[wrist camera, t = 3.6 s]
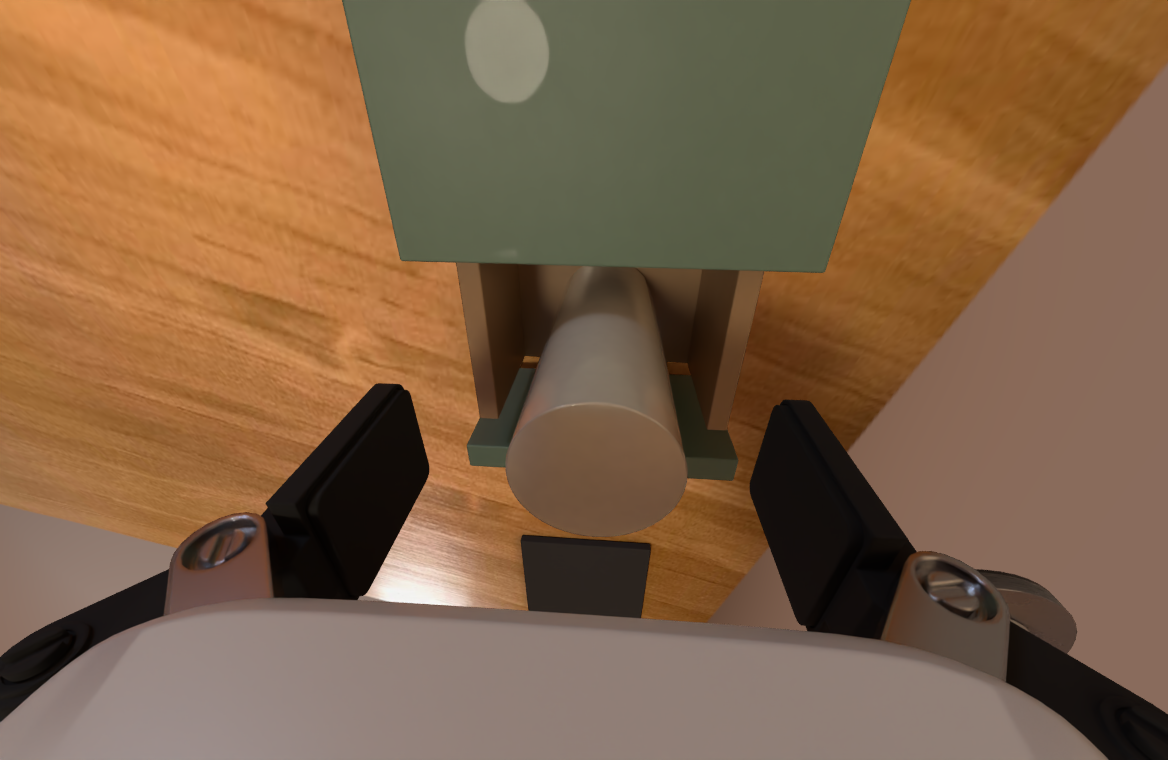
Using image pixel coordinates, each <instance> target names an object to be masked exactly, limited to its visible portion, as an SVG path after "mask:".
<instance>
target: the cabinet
mask: <svg viewBox="0 0 1168 760" xmlns="http://www.w3.org/2000/svg"><path fill="white" fill-rule="evenodd" d="M342 2H343V6H344V11H345V15H346V20H347V24H348V29H349V33H350V37H351V42H352V46H353V51H354V55H355V60H356V64H357V69H358V73H359V77H360V82H361V86H362V91H363V95H364V100H365V104H366V109H367V113H368V117H369V122H370V126H371V131H372V135H373V140H374V144H375V149H376V153H377V158H378V162H379V166H380V171H381V175H382V180H383V184H384V189H385V193H386V198H387V202H388V206H389V211H390V215H391V220H392V224H393V229H394V233H395V238H396V242H397V246H398V251H399V255H400V259H401V260H402V261H422V262H457V263H493V264H528V265H563V266H599V267H634V268H669V269H705V270H740V271H776V272H811V273H823V272H825V270H826V267H827V264H828V261H829V257H830V254H831V251H832V248H833V245H834V242H835V238H836V235H837V232H838V229H839V226H840V223H841V219H842V216H843V213H844V210H845V207H846V204H847V201H848V197H849V194H850V191H851V188H852V185H853V182H854V178H855V175H856V172H857V169H858V166H859V163H860V159H861V156H862V153H863V150H864V147H865V144H866V141H867V137H868V134H869V131H870V128H871V125H872V122H873V118H874V115H875V112H876V109H877V106H878V103H879V100H880V96H881V93H882V90H883V87H884V84H885V81H886V77H887V74H888V71H889V68H890V65H891V62H892V58H893V55H894V52H895V49H896V46H897V43H898V40H899V36H900V33H901V30H902V27H903V24H904V21H905V17H906V14H907V11H908V8H909V5H910V2H911V0H342Z"/></svg>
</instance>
